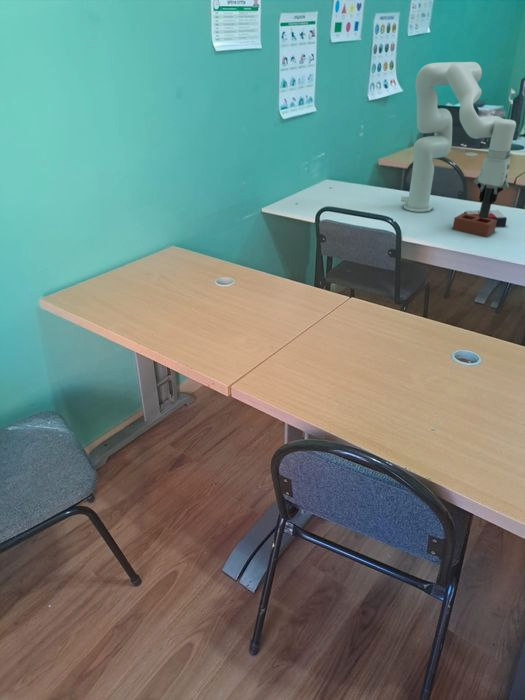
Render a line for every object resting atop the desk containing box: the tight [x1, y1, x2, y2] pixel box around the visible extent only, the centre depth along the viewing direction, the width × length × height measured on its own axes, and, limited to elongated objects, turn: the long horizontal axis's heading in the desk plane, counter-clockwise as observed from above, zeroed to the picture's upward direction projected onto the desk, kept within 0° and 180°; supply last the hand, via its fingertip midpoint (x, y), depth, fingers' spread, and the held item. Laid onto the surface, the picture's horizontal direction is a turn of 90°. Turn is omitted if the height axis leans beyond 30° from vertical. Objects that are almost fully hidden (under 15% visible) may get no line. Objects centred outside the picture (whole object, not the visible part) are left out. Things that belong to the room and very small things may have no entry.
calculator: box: [463, 209, 508, 228], centre depth 223 cm, size 11×4×15 cm
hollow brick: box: [452, 212, 497, 238], centre depth 214 cm, size 15×8×5 cm, turn 48°
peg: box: [479, 185, 494, 218], centre depth 208 cm, size 4×4×12 cm
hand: (486, 201), depth 207 cm, fingers closed on peg, 3 cm apart
